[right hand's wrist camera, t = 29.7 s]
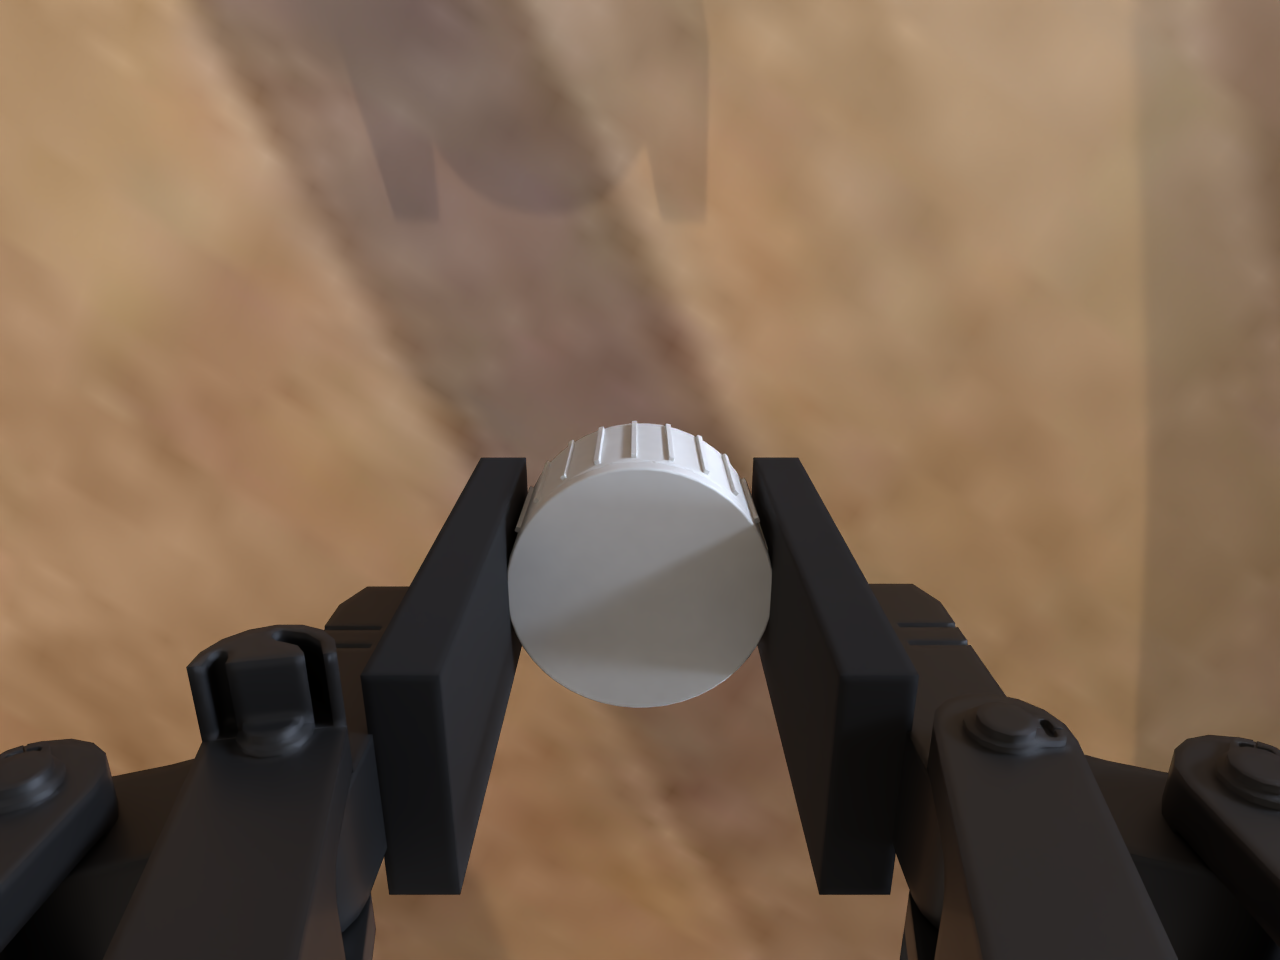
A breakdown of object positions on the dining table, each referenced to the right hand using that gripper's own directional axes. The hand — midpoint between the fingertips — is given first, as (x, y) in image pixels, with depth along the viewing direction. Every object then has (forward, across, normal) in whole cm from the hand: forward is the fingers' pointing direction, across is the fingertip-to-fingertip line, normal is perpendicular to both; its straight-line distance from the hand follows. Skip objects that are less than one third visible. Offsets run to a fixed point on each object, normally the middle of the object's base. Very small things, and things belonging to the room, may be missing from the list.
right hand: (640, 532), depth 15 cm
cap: (-2, 0, 0) cm, 2 cm away
